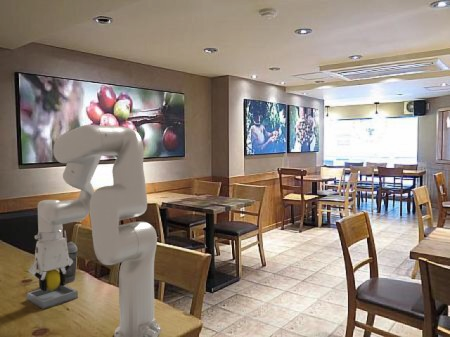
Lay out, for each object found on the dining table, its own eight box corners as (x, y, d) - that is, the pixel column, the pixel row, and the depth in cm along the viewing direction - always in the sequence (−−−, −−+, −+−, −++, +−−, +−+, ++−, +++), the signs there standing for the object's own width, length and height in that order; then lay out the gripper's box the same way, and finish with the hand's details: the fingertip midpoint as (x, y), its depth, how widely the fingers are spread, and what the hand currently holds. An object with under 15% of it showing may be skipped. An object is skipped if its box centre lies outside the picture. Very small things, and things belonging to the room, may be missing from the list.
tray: (77, 297, 132) (77, 290, 132) (43, 309, 123) (43, 301, 123) (60, 289, 140) (60, 283, 139) (26, 300, 130) (26, 293, 130)
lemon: (55, 286, 135) (55, 264, 135) (63, 290, 132) (62, 267, 131) (40, 291, 131) (39, 268, 130) (48, 295, 127) (47, 272, 127)
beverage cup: (71, 284, 145) (70, 233, 144) (54, 283, 147) (53, 232, 145) (82, 278, 152) (81, 228, 151) (66, 276, 154) (64, 228, 153)
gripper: (30, 242, 121) (32, 297, 122) (79, 232, 134) (81, 282, 135) (19, 239, 126) (21, 292, 127) (68, 230, 139) (70, 278, 140)
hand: (52, 287), depth 131 cm, fingers closed on lemon, 5 cm apart
